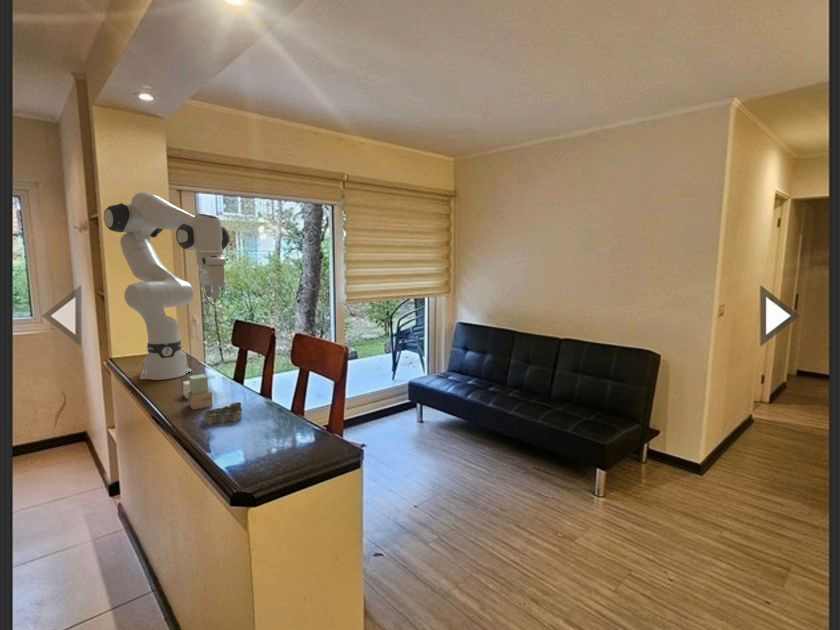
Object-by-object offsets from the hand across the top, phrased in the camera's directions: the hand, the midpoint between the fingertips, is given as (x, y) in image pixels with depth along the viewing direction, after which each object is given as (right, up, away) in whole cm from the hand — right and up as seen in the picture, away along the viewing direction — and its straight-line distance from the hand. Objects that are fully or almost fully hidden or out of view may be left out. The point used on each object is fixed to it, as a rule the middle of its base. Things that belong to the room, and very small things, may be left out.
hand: (212, 298), depth 161 cm
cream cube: (-6, -35, -2) cm, 35 cm away
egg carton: (+15, -38, -24) cm, 48 cm away
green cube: (+2, -31, -13) cm, 34 cm away
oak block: (+2, -36, -13) cm, 39 cm away
